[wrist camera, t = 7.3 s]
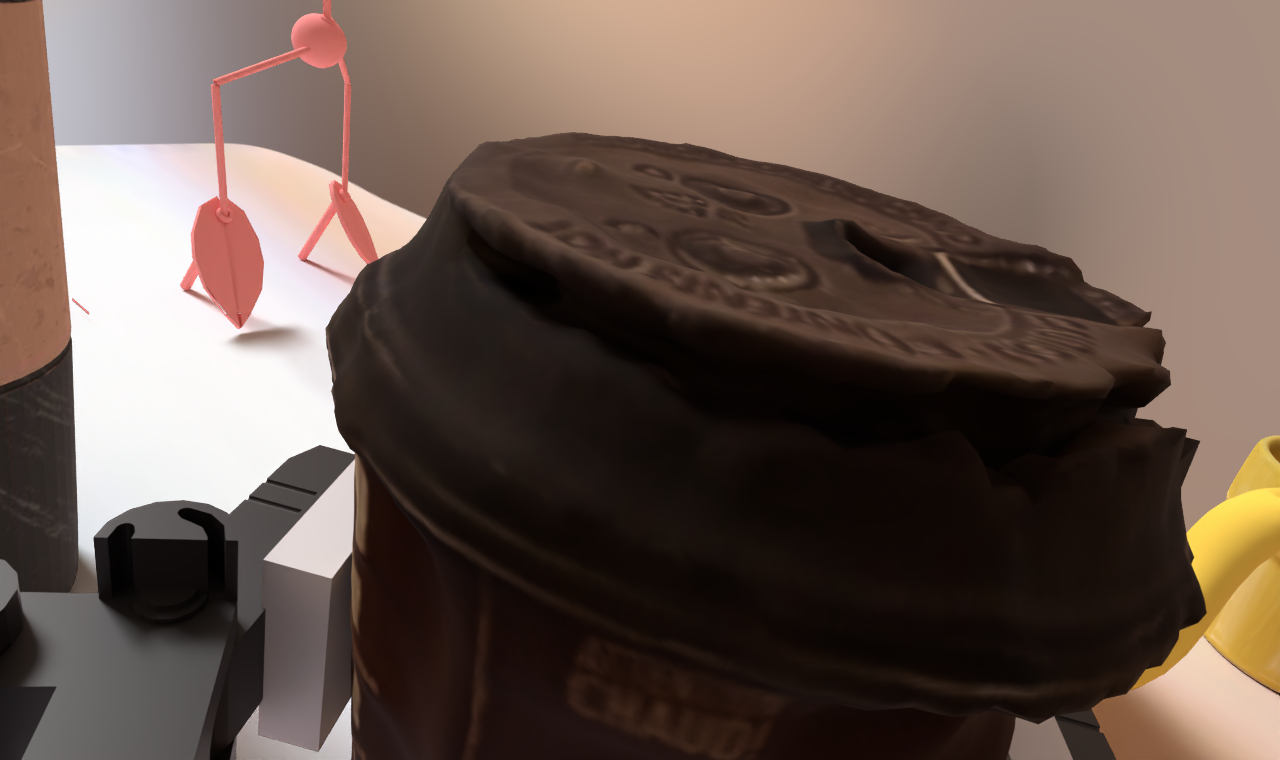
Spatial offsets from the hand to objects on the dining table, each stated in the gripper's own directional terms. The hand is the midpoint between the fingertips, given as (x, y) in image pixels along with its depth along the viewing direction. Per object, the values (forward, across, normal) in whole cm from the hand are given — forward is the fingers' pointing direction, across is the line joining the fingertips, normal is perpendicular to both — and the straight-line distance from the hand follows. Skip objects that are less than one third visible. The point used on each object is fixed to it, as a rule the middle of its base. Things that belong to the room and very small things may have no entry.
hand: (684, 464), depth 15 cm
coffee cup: (-5, 0, -7) cm, 9 cm away
